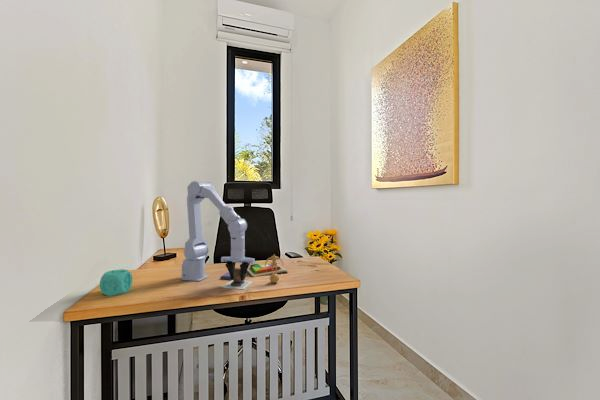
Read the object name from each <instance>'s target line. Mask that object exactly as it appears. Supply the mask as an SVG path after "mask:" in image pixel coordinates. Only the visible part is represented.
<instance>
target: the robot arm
mask: <svg viewBox="0 0 600 400" xmlns="http://www.w3.org/2000/svg"><path fill="white" fill-rule="evenodd" d="M204 199H209V201H210V202H211V203H212V204H213V205H214V206H215V207H216V208H217V209H218V210H219V213H218V214H219V216H220V217H221V218H222V220H224V222H225V224H226V225H227V229H228V232H229V236H230V256H221V258H220V263H224V262H225V267H226V269H227V270H228V272H229V274H230V277H231V280H233V279H234V269H235V268H236V264H237V263H238V264H239V268H240V269H241V281H245V278H246V277H245V275H246V274H247V272H248V271H247V269H248V267H250V265H253V264H256V263H255V258H253V257H247V256H245V255H246V254H245V253H246V249H245V248H246V247H245V245H246V244H245V243H246V241H245V237H246V235H245V234H246V231H247V229H248V222H247V221H246V219H245V218H241V216H240V215H239V214H237V213H236V212H235V210H234V207H233V206H230V205H226V203H225V201H223V199H222V198H221V197H220V195H219V194H218V192H217V190H216V186H214V185H213V183H212V182H209V181H196V180H193V181H191V182H190V183H189V184H188V186H187V197H186V207H187V224H188V234H189V235H188V236H189V237H188V239H187V241H185V243H184V250H183V255H184V259H183V261H182V263H181V278H180V280H182V281H193V282H200V281H203V280H204V279H206V278H208V277H209V274H206V269H205V268H206V267H205V266H206V265H205V264H206V258H207V255H208V254H209V246H208V244H207V239H205V238H204V237H203V227H202V214H201V212H202V211H201V202H202V201H203V200H204ZM231 280H230V281H231Z"/></svg>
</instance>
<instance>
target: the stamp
mask: <svg viewBox="0 0 600 400" xmlns="http://www.w3.org/2000/svg"><path fill="white" fill-rule="evenodd" d="M244 281H245V280H243V281H241V269H240V267H237V268H236V267H235V269H234V281H233V282H232V283H231V286H242V285H243V284H244Z"/></svg>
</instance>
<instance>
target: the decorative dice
mask: <svg viewBox="0 0 600 400" xmlns="http://www.w3.org/2000/svg"><path fill="white" fill-rule="evenodd" d="M132 285H133V274H132V272H131V271H130V270H129V269H121V268H120V269H113V270H109V271H105V272H104V273H103V274H102V276H101V277H100V281H99V290H100V292H101V293H102V294H104V295H105V296H107V295H108V296H107V297H113V296H112V295H115V296H119V295H123V293H124V294H126V293H128V292H129V290H130V289H131V287H132Z"/></svg>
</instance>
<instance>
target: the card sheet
mask: <svg viewBox="0 0 600 400" xmlns="http://www.w3.org/2000/svg"><path fill="white" fill-rule="evenodd" d="M233 281H234V280H230V281H228V282H227V283H225V284H224V285H222V286H221V288H223V289H235V290H246V289H247V287H249V286H250V285H251V284H253V282H254V281H252V280H243V281H244V284H243V285H242V286H231V283H232V282H233Z"/></svg>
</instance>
